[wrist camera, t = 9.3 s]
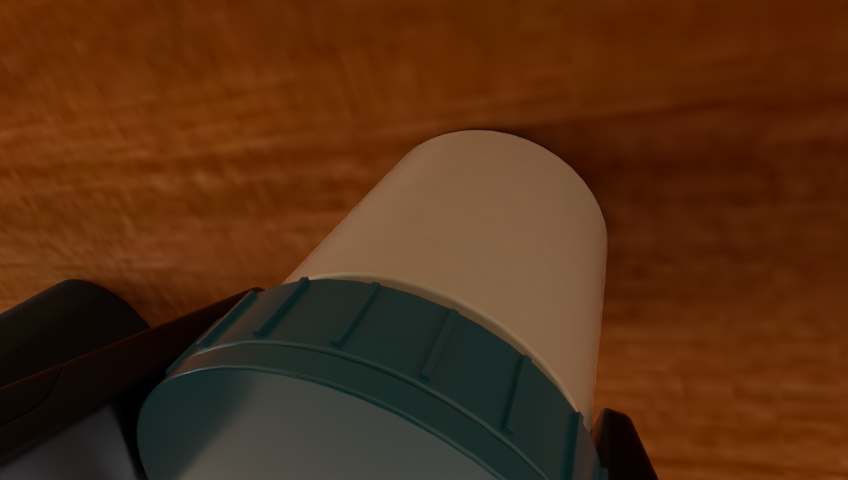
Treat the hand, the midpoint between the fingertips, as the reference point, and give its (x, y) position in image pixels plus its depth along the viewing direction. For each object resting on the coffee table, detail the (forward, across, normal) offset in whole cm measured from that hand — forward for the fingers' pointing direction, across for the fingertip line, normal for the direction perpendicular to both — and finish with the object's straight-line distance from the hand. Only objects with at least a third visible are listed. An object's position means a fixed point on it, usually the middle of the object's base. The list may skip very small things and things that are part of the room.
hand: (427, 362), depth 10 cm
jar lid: (-3, 0, 0) cm, 3 cm away
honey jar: (+5, 0, 0) cm, 5 cm away
